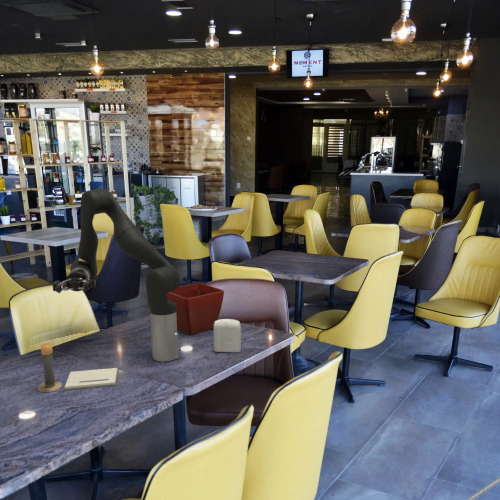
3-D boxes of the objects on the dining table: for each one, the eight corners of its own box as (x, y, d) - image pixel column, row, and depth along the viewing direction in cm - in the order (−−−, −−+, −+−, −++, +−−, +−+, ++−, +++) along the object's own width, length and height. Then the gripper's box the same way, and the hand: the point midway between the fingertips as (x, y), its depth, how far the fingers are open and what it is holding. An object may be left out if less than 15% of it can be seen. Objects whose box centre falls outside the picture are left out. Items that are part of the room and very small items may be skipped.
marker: (56, 383, 158) (52, 343, 156) (54, 387, 155) (50, 346, 152) (45, 384, 157) (42, 343, 155) (43, 388, 154) (39, 347, 152)
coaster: (63, 381, 160) (63, 380, 160) (59, 391, 153) (59, 389, 153) (40, 383, 159) (40, 382, 159) (36, 393, 152) (35, 392, 152)
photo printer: (241, 348, 186) (241, 317, 184) (240, 353, 182) (240, 321, 180) (214, 348, 187) (213, 317, 185) (213, 352, 183) (212, 321, 181)
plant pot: (200, 318, 223) (199, 281, 220) (226, 328, 209) (225, 290, 205) (163, 327, 211) (161, 289, 208) (187, 339, 197) (186, 298, 193)
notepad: (118, 370, 169) (118, 367, 168) (116, 385, 157) (116, 382, 157) (69, 374, 166) (69, 371, 165) (63, 390, 154) (63, 387, 154)
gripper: (57, 270, 183) (48, 280, 168) (97, 268, 186) (92, 277, 170) (59, 290, 185) (50, 301, 169) (98, 287, 187) (94, 298, 172)
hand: (71, 289), depth 170 cm, fingers open, 8 cm apart
